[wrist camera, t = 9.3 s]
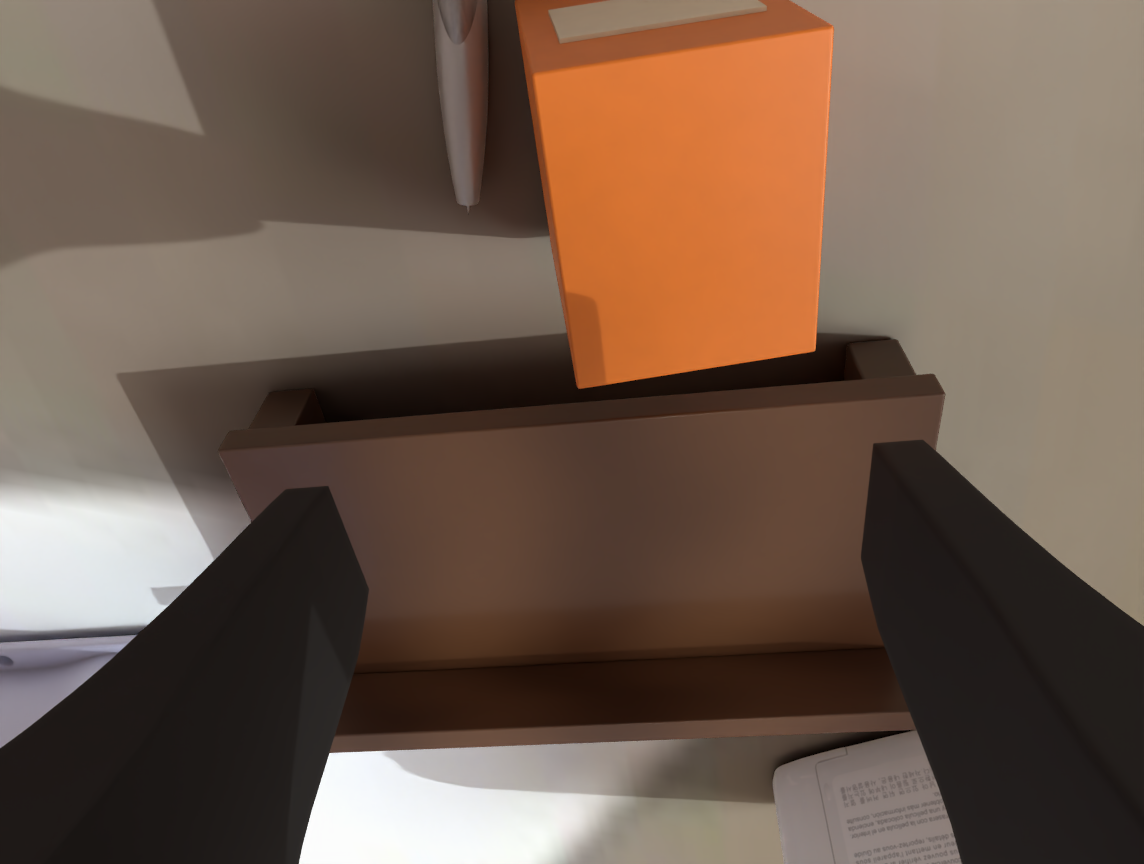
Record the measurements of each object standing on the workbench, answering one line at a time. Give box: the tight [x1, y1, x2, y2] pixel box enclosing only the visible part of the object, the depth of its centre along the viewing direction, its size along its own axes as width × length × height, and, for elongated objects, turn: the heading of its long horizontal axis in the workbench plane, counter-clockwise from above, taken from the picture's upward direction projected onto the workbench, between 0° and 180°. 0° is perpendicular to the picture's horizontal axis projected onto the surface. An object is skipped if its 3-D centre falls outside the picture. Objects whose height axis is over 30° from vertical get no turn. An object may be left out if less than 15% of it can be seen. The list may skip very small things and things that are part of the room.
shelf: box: [218, 339, 945, 753], centre depth 21 cm, size 16×9×5 cm, turn 97°
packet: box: [515, 0, 834, 389], centre depth 15 cm, size 4×5×6 cm
